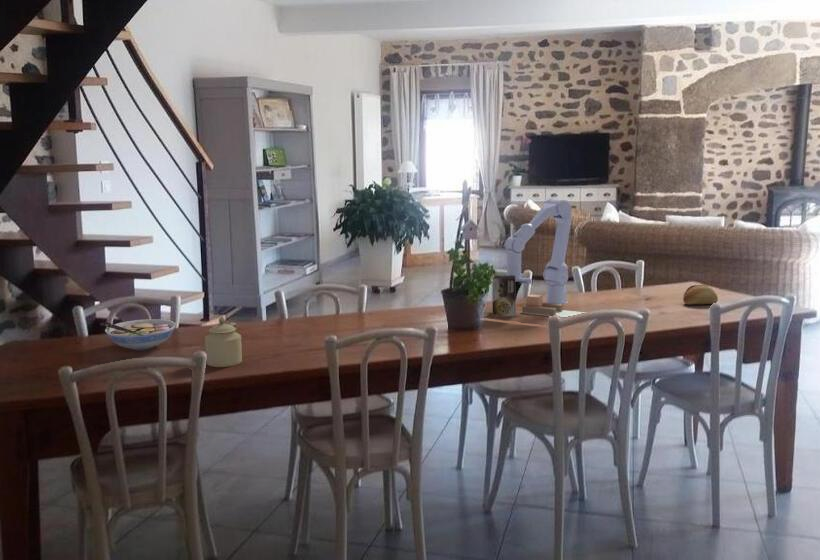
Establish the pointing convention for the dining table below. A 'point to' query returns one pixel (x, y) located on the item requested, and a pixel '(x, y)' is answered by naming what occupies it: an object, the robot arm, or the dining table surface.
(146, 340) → the ramen bowl
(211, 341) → the sugar bowl
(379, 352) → the dining table surface
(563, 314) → the chute board
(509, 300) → the coffee box
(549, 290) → the robot arm
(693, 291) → the bread roll
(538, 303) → the block
